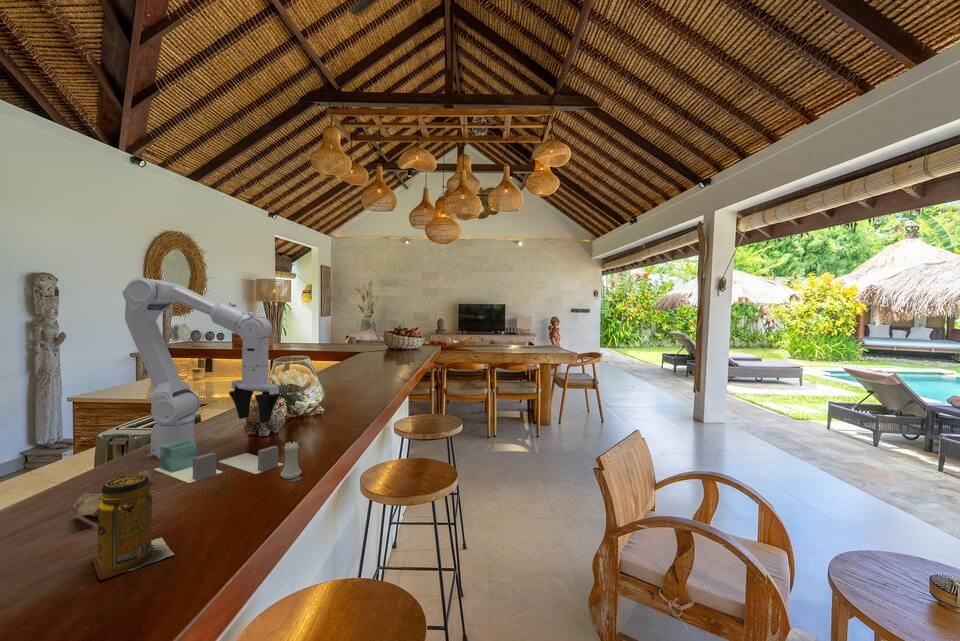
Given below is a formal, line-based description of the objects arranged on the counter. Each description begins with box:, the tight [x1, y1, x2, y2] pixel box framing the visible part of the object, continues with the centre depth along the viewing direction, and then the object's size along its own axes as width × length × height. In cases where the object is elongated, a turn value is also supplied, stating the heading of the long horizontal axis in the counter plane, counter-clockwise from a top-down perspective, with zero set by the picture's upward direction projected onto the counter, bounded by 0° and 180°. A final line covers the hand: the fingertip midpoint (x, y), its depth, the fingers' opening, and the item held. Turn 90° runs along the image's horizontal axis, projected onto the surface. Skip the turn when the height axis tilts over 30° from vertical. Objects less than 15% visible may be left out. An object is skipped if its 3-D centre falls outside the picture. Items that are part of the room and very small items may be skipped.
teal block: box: [159, 440, 198, 473], centre depth 94 cm, size 5×5×5 cm
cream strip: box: [153, 451, 223, 484], centre depth 93 cm, size 14×7×5 cm, turn 62°
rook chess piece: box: [280, 441, 303, 484], centre depth 92 cm, size 4×4×8 cm
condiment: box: [97, 474, 175, 572], centre depth 62 cm, size 7×8×12 cm
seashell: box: [72, 470, 153, 517], centre depth 77 cm, size 8×17×5 cm, turn 22°
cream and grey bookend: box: [218, 445, 284, 475], centre depth 98 cm, size 14×7×5 cm, turn 62°
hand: (254, 420), depth 104 cm, fingers open, 7 cm apart
